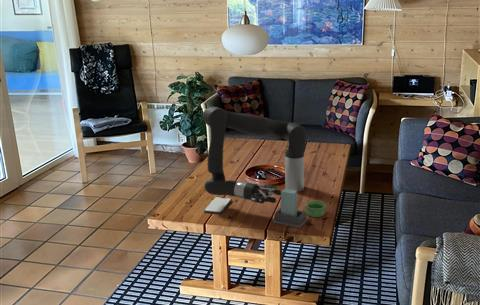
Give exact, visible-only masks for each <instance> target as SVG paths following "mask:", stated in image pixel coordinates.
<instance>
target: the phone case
mask: <svg viewBox="0 0 480 305" xmlns="http://www.w3.org/2000/svg"><path fill="white" fill-rule="evenodd" d="M231 203H232V198H231V197H221V196H215V197H214V198H213V199H212V200H211V202H210V203H209V204H208V205H207V206H206V207H205V209H204V210H203V212H204V214H205V213H208V214H212V215H213V214H216V215H222V213H224V211H225V210H227V208H228V207H229V205H230V204H231Z"/></svg>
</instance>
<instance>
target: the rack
mask: <svg viewBox="0 0 480 305" xmlns="http://www.w3.org/2000/svg"><path fill="white" fill-rule="evenodd" d="M273 216H274V218H273V219H271V223H274V224H279V225H284V226H288V227H293V228H297V229H301V228H302V227H303V226H304V225H305V224H306V223H307V222H308V220H309V217H307V213H306V211H303V210H298V209H297V217H296V216H291V215H286V214H281V207H280V208H279V209H278V210H277V211H275V212H274V214H273Z"/></svg>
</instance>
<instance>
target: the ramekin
mask: <svg viewBox="0 0 480 305" xmlns="http://www.w3.org/2000/svg"><path fill="white" fill-rule="evenodd" d="M326 207H327V204H326V203H325V202H324V201H322V200H321V201H320V200H309V201H306V203H305V209H306V210H305V212H306V215H307V216H308V217H313V218H321V217H323V216H324V215H325V212H326Z"/></svg>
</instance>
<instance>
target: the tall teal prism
mask: <svg viewBox="0 0 480 305" xmlns="http://www.w3.org/2000/svg"><path fill="white" fill-rule="evenodd" d="M280 208H281V214H286V215H291V216H296V217H297V210H298V191H295V190H290V189H285V188H283V189H282V191H281V195H280Z"/></svg>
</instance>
